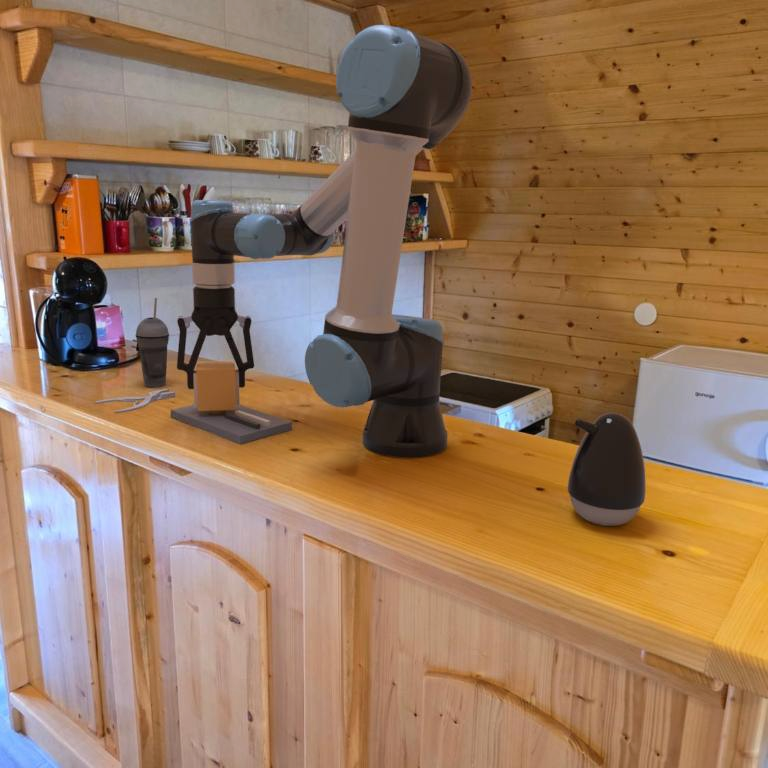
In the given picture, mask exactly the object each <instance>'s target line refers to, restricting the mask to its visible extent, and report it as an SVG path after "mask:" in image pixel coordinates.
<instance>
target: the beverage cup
mask: <svg viewBox="0 0 768 768" xmlns="http://www.w3.org/2000/svg"><path fill="white" fill-rule="evenodd" d="M153 304H154V306H153V317H146V318H144V319H142V320H141V321H140V322H139V324H138V325H137V327H136V330H135V331H136V332H135V337H136V343H137V346H138V350H139V351H138V352H139V357H140V365H141V372H142V377H143V383H144V386H145V387H146V388H161V387H165V386H166V380H167V368H168V367H167V361H168V345H169V338H170V333H169V330H168V326H167V324H166V323H165V322H164V321H163V320H162V319H160V318H158V317H157V305H158V297H154V303H153Z"/></svg>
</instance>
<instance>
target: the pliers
mask: <svg viewBox="0 0 768 768" xmlns="http://www.w3.org/2000/svg"><path fill="white" fill-rule="evenodd" d="M175 398H176V391H170V389H169V388H164V389H159V390H153V391H150V392H147V395H146V396H124V397H114V398H113V397H112V398H107V399H101V400H97V401H94V403H93V404H94V405H98V404H105V403H111V402H113V403H114V402H123V403H133V406H129V407H126V408H124V409H123V408H122V409H119V410H114V413H115V414H121V413H126V412H127V413H128V412H131V411H136V410H139V409H142V408H145V407H147V406H149V404H151V403H154V402H155V401H156V402H157V401H162V400H169V399H175ZM140 401H142V402H140Z"/></svg>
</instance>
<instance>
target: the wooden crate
mask: <svg viewBox="0 0 768 768" xmlns="http://www.w3.org/2000/svg"><path fill="white" fill-rule="evenodd" d="M235 365H236V363H235V360H220V361H219V360H216V361H214V360H213V361H212V360H211V361H207V360H206V361H197V362H196V370H197V391H198V411H215V410H236V380H235V370H236V366H235Z"/></svg>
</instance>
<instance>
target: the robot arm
mask: <svg viewBox="0 0 768 768" xmlns="http://www.w3.org/2000/svg"><path fill="white" fill-rule="evenodd" d="M343 50H344V51H343V52H342V54H341V56H340V59H339V61H338V65H337V69H336V77H335V88H336V93H337V96H338V97H340V103H341V105H342V106H343V107H344V109H345V110H346V112H348V113H349V116H348V121H347V122H348V124H347V130H348V132H349V133H350V135H351V136H352V138H353V139H354V140H355V144H356V146H355V149H354V151H353V152H351V154H350V155H348V156H347V158H345V160H344V161H343V162H341V164H339V165H338V167H337V168H336V169H335V170H333V172H332V173H331V174H330V175H329V176H328V177H327V178H326V179H325V180H324V181H323V182H322V183H321V184H320V186H318V188H317V189H315V190H314V192H312V193H311V195H310V196H308V198H307V199H306V200H305V201H304V202H303V203H302V204H301V205H300V206H298V207H297V209H295V211H294V212H292V213H263V212H262V213H260V212H259V213H258V212H252V213H251V212H249V213H248V212H235V211H234V206H233V202H231V201H229V200H208V199H207V200H206V199H195V200H194V201H193V202H192V203H191V205H190V221H189V225H190V236H191V239H190V240H191V258H192V259H191V260H192V261H191V262H192V263H191V268H192V270H191V271H192V283H193V284H194V285H196V286H194V287H193V288H192V294H193V296H192V298H193V311H192V313H191V315H187V316H178V318H177V320H176V321H177V326H178V328H179V329H178V330H179V335H178V336H179V337H178V349H177V359H176V360H177V361H176V369H177V370H178V371H183V372H185V373H186V379H187V380H186V381H187V383H186V384H187V389H188V390H193V401H194V402H193V405H194V407H198V391H197V369H195V368H196V366H197V362H198V359H199V356H200V353H201V351H202V349H203V347H204V346H203V345H204V343H205V340H206V339H207V336H208V337H210V336H214V335H216V336H219V337H220V336H221V337H223V336H224V339H225V341H226V343H227V345H228V348H229V350H230V353H231V355H232V357H233V359H234V360H233V361H234V363H235V365H236V367H237V369H235V380H236V405H240V388H245V386H246V372H247V371H249V370H250V369H254V368H255V361H254V354H253V353H254V352H253V347H252V345H253V344H252V339H251V331H250V330H251V325H252V318H251V316H249V315H246V316H243V315H239V314H238V312H237V310H236V301H235V300H236V299H235V297H236V295H235V293H236V292H235V288H234V286H232V285H234V284H235V257H234V256H236V257H244V258H250V259H253V260H258V259H260V260H261V259H262V260H264V259H265V260H266V259H267V260H268V259H273V258H275V257H285V256H314V255H317V254H323V253H325V252H326V251H328V250H329V249H330V248H331V246H332V242H333V240H334V234H335V231H336V230H337V229H338V228H339V227H340V226H341V225H342V224H343V223H345V222H346V227H345V235H344V243H343V249H342V250H343V252H342V258H341V266H340V276H339V281H338V282H339V283H338V284H339V285H338V291H337V299H336V305H335V307H333V308H332V309H331V310H330V311H328V312H327V313H325V315H324V317H325V318H324V323H323V324H324V325H323V333H322V334H321V335H320V334H319V335H317V336H316V337H315V338H314V339H313V340H312V341H310V342H309V344H308V345H307V347H306V350H305V353H304V354H305V355H304V369H305V372H306V377H307V380H308V381H309V384H310V385H311V386H312V387H313V390H314V392H315V394H316V395H317V396H318V397H319V398H320V399H321V400H323V401H324V402H326V403H327V404H328V405H330V406H332V407H335V408H348V407H349V408H350V407H353V406H354V407H358V406H364V404H365V403H368V402H371V401H372V404H371V407H370V410H369V413H368V416H367V419H366V422H365V425H364V427H363V429H362V430H363V431H362V445H363V447H364V448H365V449H367V450H368V451H370V452H373V453H375V454H378V455H383V456H386V457H392V458H403V459H408V458H409V459H410V458H411V459H415V458H416V459H417V458H425V457H431V456H432V457H433V456H435V455H438V454H441V453H443V452H444V451H445V450H446V449H447V447H448V431H447V430H446V429H447V428H446V425H445V420H444V417H443V414H442V410H441V407H440V396H441V395H440V393H441V378H442V377H441V375H442V374H441V373H442V363H443V362H442V358H443V345H444V342H445V341H444V340H443V337H444V335H443V331H444V330H443V326H442V324H441V323H440V321H438V320H435V319H431V318H427V317H426V318H425V317H419V316H418V317H417V316H411V315H401V314H393V306H394V300H395V293H396V288H397V287H396V286H397V282H398V281H397V280H398V276H399V275H398V274H399V268H400V262H401V261H400V260H401V254H402V247H403V241H404V240H403V239H404V233H405V230H406V229H405V227H406V223H407V222H406V221H407V214H408V208H409V202H410V196H411V188H412V181H413V175H414V169H415V161H416V156H417V155H418V154H419V153H421V151H422V150H423V151H432V150H433V149H434V148H436V147H437V146H438V144H440V143H441V142H442V141H443V140H444V139H445V138H446V137H447V136H448V135H449V134H450V133H452V131H453V130H454V129H455V128H456V127H457V125H458V124H459V123H460V122H461V120H462V119H463V118H464V115H465V114H466V113H467V109H468V108H469V105H470V103H471V99H472V93H473V78H472V73H471V71H470V69H469V65H468V63H467V62H466V60H465V58H464V57H463V56H462V54H460V53H459V52H458V51H457V50H456V49H455V48H453V47H452V46H450V45H448V44H445V43H443V42H439V41H436V40H433V39H430V38H428V37H426V36H422V35H420V34H418V33H416V32H414V31H411V30H409V29H407V28H404V27H402V28H401V27H399V26H391V25H388V24H387V25H386V24H374V25H371V26H369V27H366V28H364V29H362V30H361V31H360V32H358V33H357V34H356V36H355V37H354V38H353V40H351V41H349V43H348V44H347V45H346V47H345V49H343ZM192 322H193V323H194V324H195V326H196V327H197V328H198V329H199V332H198V336H197V337H196V338H197V339H196V342H195V344H194V346H193V350H192V353H191V355H190V357H189V360H188V363H186V362H185V356H186V355H185V354H186V347H187V346H186V343H187V333H188V331H187V330H188V328H190V326H191V323H192ZM236 322H238V323H239V327H240V328H242V334H243V341H244V348H245V356H246V361H245V362H243V359H242V356H241V355H240V352H239V349H238V347H237V345H236V342H235V339H234V336H233V334H232V332H231V329H232V328H233V326H234V325H235V324H236Z"/></svg>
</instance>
